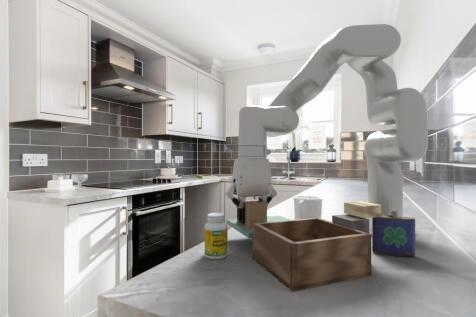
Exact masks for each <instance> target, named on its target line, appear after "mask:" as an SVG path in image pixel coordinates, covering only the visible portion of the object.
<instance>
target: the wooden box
mask: <svg viewBox="0 0 476 317" xmlns="http://www.w3.org/2000/svg"><path fill="white" fill-rule="evenodd" d="M251 260H253V261H255V262H256V263H257V264H258V265H259V266H260V267H261V268H263V269H264V270H265V271H266V272H268V274H270V275H271V276H273V277H274V279H276V280H277V281H278V282H280V283H281V284H282V285H283V286H285V287H286V288H287V289H288V290H290V291H291V292H297V291H302V290H307V289H312V288H316V287H321V286H326V285H331V284H335V283H340V282H341V283H342V282H346V281H351V280H356V279H361V278H366V277H370V276H372V235H371V234H369V219H367V218H361V217H357V216H353V215H349V214H345V213H344V214H334V215H331V220H326V219H324V218H322V217H321V218H308V219H297V220H295V219H290V220H285V221H274V222H263V223H253V238H252V258H251Z"/></svg>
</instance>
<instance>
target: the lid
mask: <svg viewBox="0 0 476 317" xmlns="http://www.w3.org/2000/svg"><path fill="white" fill-rule="evenodd" d="M244 208H245V224H241V223H240V222H238V220H237V218H229V219H226V224H227V226H229V227H231V228H232V229H234V230H236V232H239V233H240V234H242V235H243V236H244V237H246V238H248V239H253V223H263V222H274V221H285V220H291V219H290V218H287V217H284V216H282V215H270V216H268V206H267V203H264V202H260V201H259V200H258V199H254V198H252V199H245V203H244Z"/></svg>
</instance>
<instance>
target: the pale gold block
mask: <svg viewBox="0 0 476 317" xmlns="http://www.w3.org/2000/svg"><path fill="white" fill-rule="evenodd" d="M343 213H344V214H349V215H353V216H357V217H361V218H366V219H367V218H373V217H381V205H378V204H373V203H368V201H361V200H359V201H358V200H357V201H345V202H343Z"/></svg>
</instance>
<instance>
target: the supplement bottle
mask: <svg viewBox="0 0 476 317" xmlns="http://www.w3.org/2000/svg"><path fill="white" fill-rule="evenodd" d="M206 215H207V218H206V220H207V222H206V223H205V224H204V256H205V258H207V259H210V260H222V259H224V258H227V256H228V252H229V251H228V249H229V247H228V241H229V240H228V238H229V237H228V231H229V229H228V226H229V225H228V224H227V222H225V220H226V216H225V213H222V212H210V213H207V214H206Z"/></svg>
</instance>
